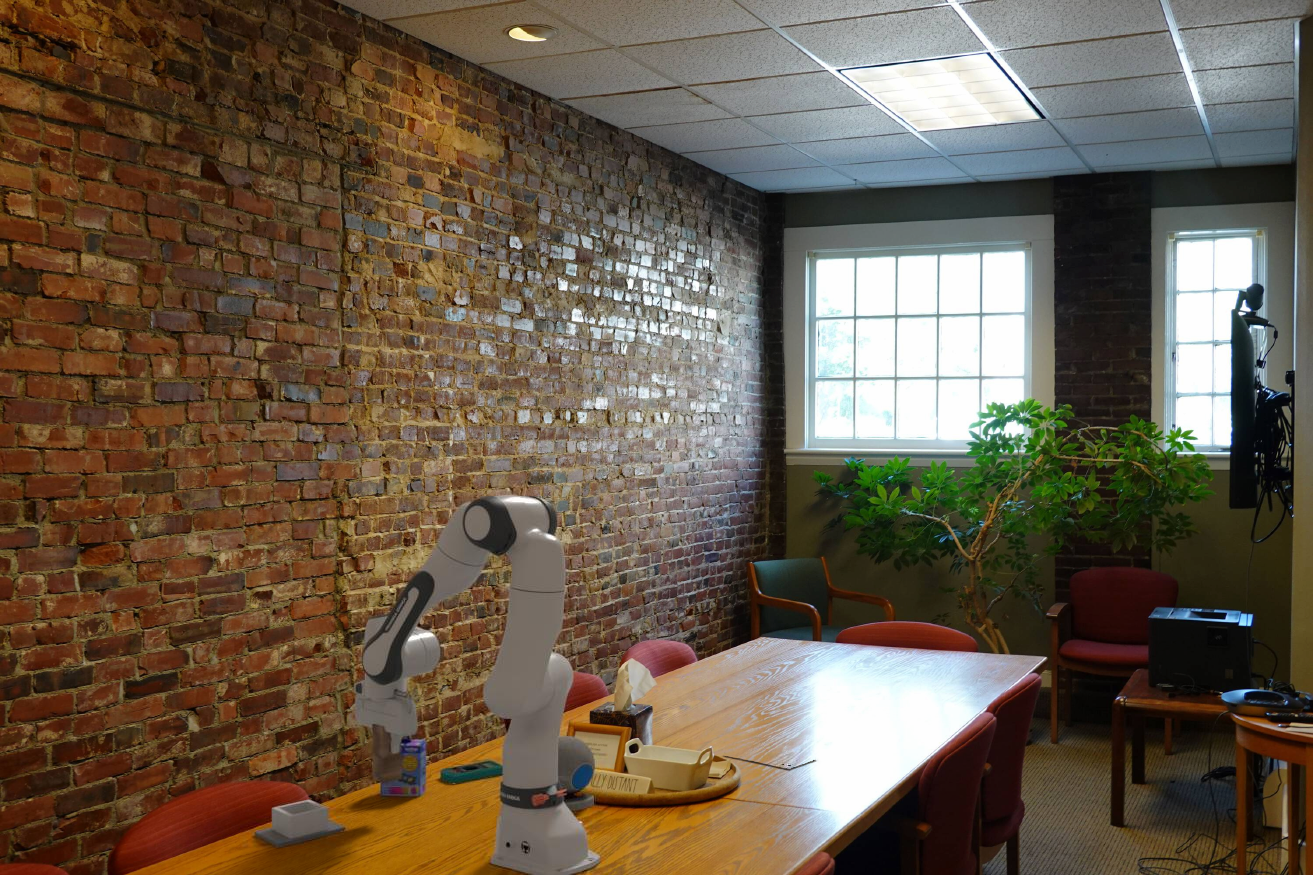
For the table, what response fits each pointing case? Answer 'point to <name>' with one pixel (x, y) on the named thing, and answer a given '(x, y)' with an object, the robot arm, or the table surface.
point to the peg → (385, 756)
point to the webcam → (575, 771)
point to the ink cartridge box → (409, 771)
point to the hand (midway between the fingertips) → (386, 750)
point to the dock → (298, 824)
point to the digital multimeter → (471, 771)
